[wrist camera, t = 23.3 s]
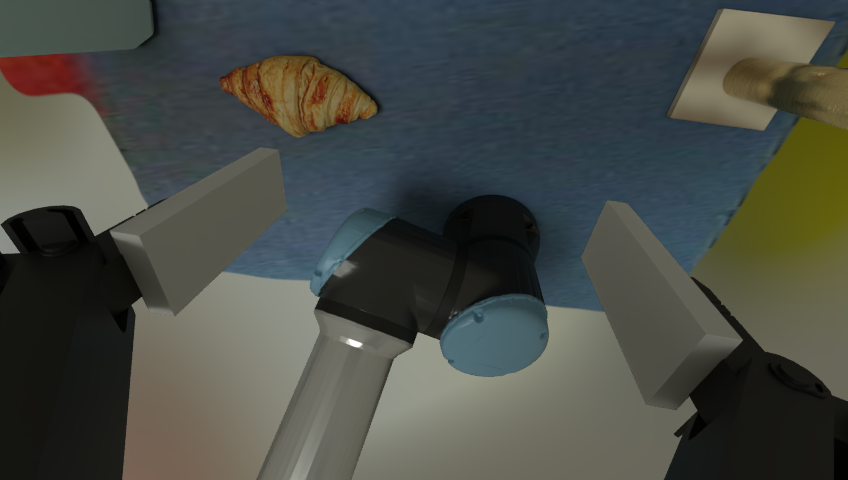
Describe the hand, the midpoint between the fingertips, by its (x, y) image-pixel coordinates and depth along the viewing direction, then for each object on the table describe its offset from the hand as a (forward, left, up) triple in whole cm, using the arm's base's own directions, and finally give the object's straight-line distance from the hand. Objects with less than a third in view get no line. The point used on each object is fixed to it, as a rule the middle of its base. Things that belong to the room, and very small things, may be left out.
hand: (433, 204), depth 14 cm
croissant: (-4, +21, -35) cm, 41 cm away
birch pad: (+5, -31, -35) cm, 47 cm away
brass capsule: (+5, -31, -34) cm, 46 cm away
